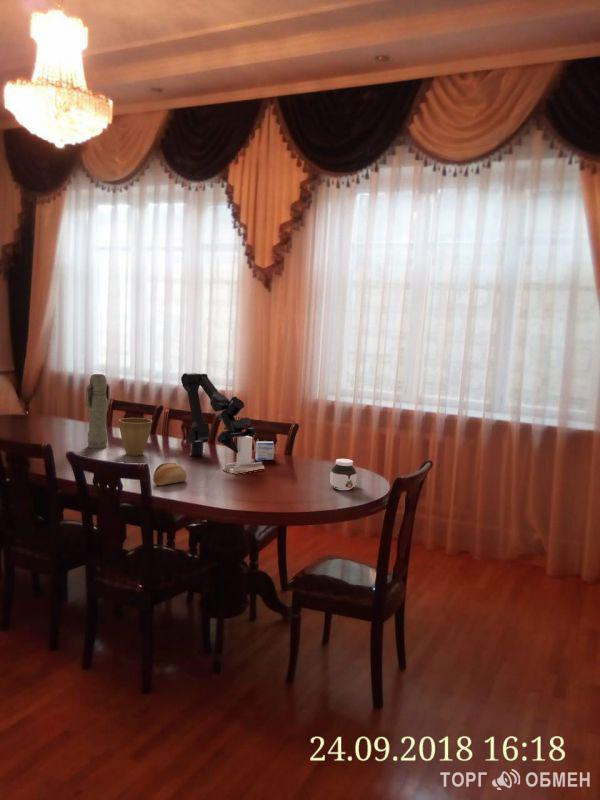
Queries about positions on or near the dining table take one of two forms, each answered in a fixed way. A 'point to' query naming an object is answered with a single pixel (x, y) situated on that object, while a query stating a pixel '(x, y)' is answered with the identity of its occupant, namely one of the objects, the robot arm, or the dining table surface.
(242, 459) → the door panel
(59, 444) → the dining table surface
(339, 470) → the spread jar
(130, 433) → the plant pot
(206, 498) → the dining table surface
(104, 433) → the stone statue
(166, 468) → the bread roll
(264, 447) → the medicine box
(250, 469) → the track base
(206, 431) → the robot arm
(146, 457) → the dining table surface
